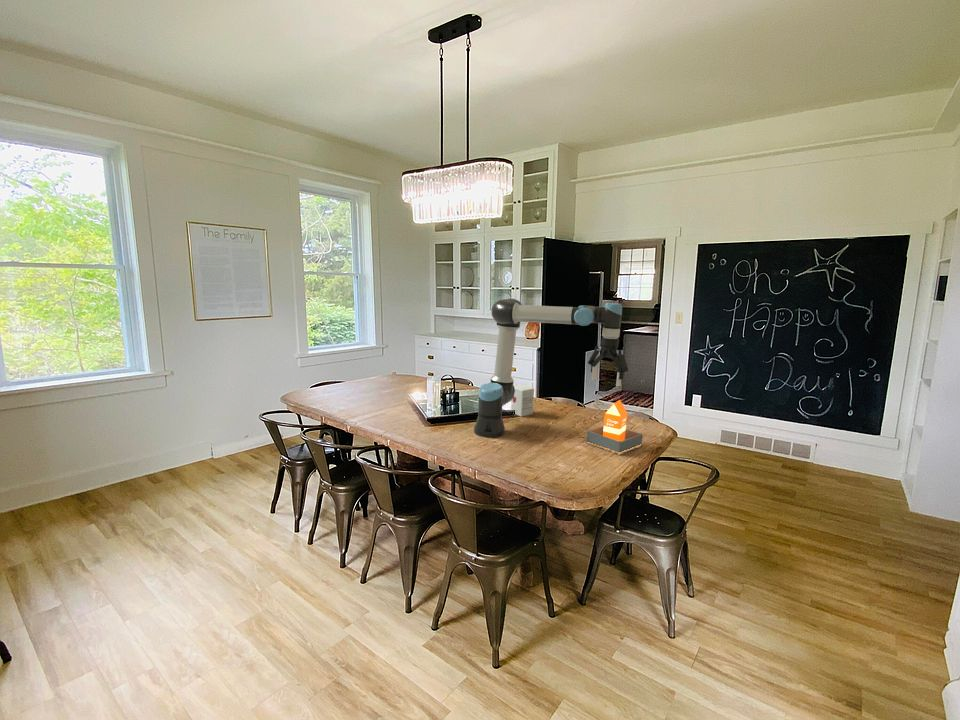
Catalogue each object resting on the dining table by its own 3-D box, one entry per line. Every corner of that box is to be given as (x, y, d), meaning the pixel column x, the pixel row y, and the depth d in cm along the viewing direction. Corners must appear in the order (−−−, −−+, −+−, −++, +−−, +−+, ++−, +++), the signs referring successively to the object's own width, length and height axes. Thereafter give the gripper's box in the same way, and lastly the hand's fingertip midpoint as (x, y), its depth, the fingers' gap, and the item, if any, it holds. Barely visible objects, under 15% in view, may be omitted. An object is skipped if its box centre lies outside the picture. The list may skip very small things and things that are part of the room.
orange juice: (624, 442, 212) (628, 400, 208) (618, 447, 205) (622, 405, 201) (608, 438, 216) (612, 397, 213) (601, 443, 209) (605, 401, 206)
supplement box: (510, 412, 255) (511, 386, 252) (522, 410, 260) (523, 384, 257) (521, 416, 248) (522, 390, 245) (533, 414, 253) (534, 388, 250)
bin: (619, 455, 199) (620, 442, 197) (586, 443, 212) (587, 430, 211) (641, 446, 210) (642, 434, 208) (609, 435, 223) (610, 424, 222)
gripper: (639, 341, 198) (634, 388, 202) (593, 333, 217) (588, 376, 221) (630, 342, 193) (624, 390, 197) (583, 334, 212) (579, 378, 216)
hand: (605, 383), depth 209 cm, fingers open, 13 cm apart
